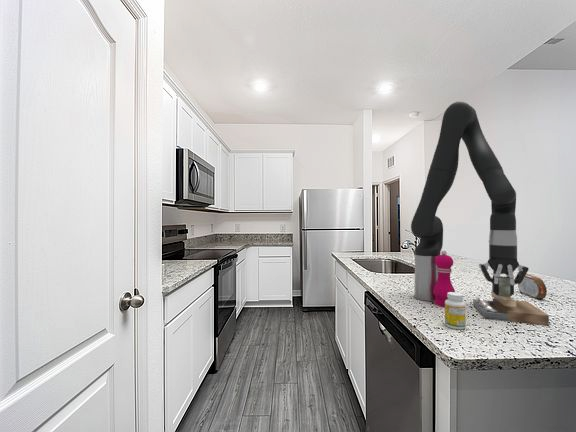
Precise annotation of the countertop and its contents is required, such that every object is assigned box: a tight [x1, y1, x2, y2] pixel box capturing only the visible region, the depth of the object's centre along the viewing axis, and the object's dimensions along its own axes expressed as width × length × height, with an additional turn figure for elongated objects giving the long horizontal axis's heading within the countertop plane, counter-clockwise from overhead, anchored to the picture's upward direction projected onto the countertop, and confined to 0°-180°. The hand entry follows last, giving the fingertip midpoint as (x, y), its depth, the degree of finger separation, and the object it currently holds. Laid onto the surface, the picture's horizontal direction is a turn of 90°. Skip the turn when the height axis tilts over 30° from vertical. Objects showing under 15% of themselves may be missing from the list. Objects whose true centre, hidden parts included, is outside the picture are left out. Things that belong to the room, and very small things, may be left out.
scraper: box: [490, 275, 517, 307], centre depth 96 cm, size 3×14×8 cm, turn 158°
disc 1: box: [476, 296, 490, 305], centre depth 102 cm, size 4×4×2 cm
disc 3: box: [483, 304, 499, 313], centre depth 93 cm, size 4×4×2 cm
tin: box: [517, 273, 548, 300], centre depth 118 cm, size 15×3×8 cm, turn 168°
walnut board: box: [491, 297, 550, 327], centre depth 94 cm, size 10×16×3 cm, turn 158°
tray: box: [472, 298, 509, 322], centre depth 97 cm, size 6×16×2 cm, turn 158°
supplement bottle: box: [444, 291, 467, 330], centre depth 84 cm, size 5×5×10 cm
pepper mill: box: [433, 250, 456, 308], centre depth 106 cm, size 7×7×20 cm
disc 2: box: [479, 300, 494, 308], centre depth 97 cm, size 4×4×2 cm
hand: (503, 294), depth 96 cm, fingers closed on scraper, 3 cm apart
